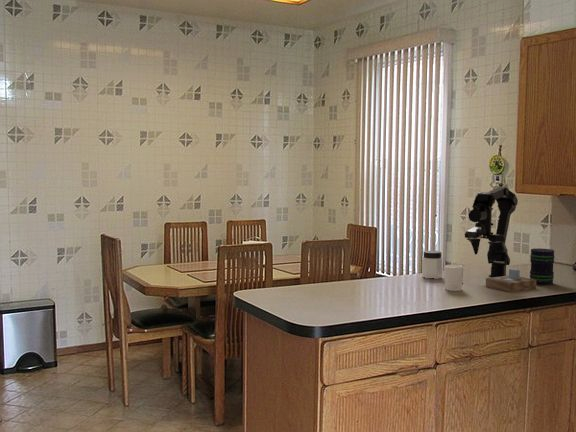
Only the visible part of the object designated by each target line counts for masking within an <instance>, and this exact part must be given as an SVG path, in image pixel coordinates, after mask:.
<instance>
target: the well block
mask: <svg viewBox="0 0 576 432" xmlns="http://www.w3.org/2000/svg"><path fill="white" fill-rule="evenodd" d="M506 278H509V275H506V276H501V277H486V278H485V287H486V288H491V289H494V290H495V289H496V290H500V291H503V292H506V293H507V292H508V293H510V292H511V293H513V292H520V291H528V290H534V289H537V285H536V280H534V279H530V277H529V278H528V277H523V276H520V278H519V280H513V281H507V280H502V279H506Z"/></svg>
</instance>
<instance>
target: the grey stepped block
mask: <svg viewBox="0 0 576 432" xmlns="http://www.w3.org/2000/svg"><path fill="white" fill-rule="evenodd" d="M520 273H521V270H520V269H517V268H508V276H509V278H506V279H502V280H507V281H513V280H519V278H520V277H521V275H520Z"/></svg>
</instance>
